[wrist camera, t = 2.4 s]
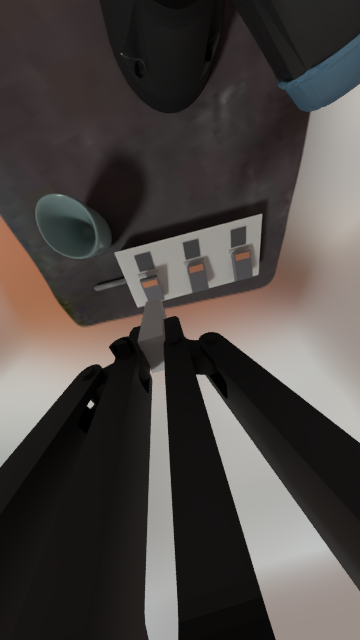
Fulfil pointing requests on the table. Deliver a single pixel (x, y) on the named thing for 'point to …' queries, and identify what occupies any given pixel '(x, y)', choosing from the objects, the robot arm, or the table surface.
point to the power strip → (189, 258)
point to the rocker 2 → (197, 277)
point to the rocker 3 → (242, 265)
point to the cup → (72, 227)
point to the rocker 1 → (152, 288)
